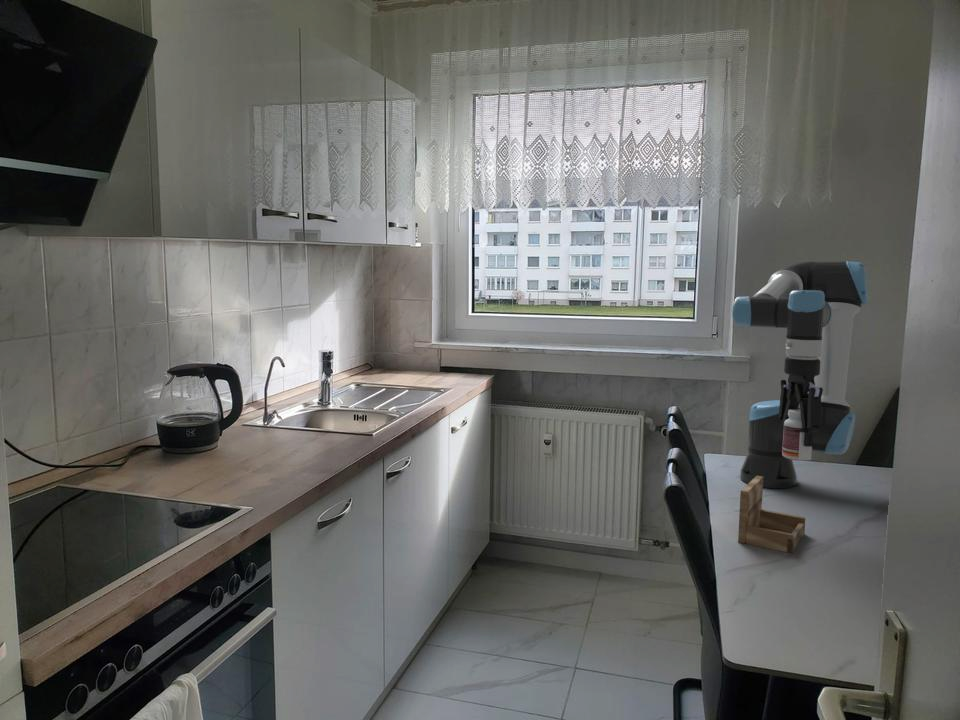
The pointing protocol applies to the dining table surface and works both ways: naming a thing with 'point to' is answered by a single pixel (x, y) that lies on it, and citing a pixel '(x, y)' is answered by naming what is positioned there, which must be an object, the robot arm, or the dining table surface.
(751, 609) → the dining table surface
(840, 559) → the dining table surface
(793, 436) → the pill bottle
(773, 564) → the dining table surface
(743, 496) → the brown wooden l-shaped frame
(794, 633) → the dining table surface
